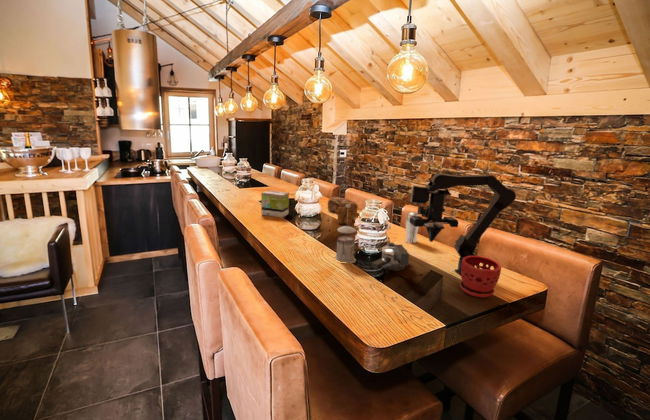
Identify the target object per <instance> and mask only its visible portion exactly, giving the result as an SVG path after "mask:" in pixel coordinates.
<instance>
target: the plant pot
mask: <svg viewBox="0 0 650 420" xmlns="http://www.w3.org/2000/svg"><path fill="white" fill-rule="evenodd" d="M471 262H472V264H470V263H471ZM480 264H482V265H480ZM473 266H475V267H473ZM491 267H492V268H493V269H491ZM501 271H502V265H501V264H500V263H499V262H498V261H497V260H494V259H492V258H489V257H485V256H481V255H475V256H466V257H464V258H463V259H462V264H461V275H460V277H461V282H459V287H460V289H461V290H462V291H463V292H464V293H466V294H467V295H470V296H472V297H475V298H476V297H477V298H489V297H491V296H493V295H494V294H495V289H494V288H495V287H496V286H497V283H498V282H499V280H500V275H501V273H502V272H501Z"/></svg>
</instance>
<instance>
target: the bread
mask: <svg viewBox="0 0 650 420" xmlns="http://www.w3.org/2000/svg"><path fill="white" fill-rule="evenodd" d="M349 202H353V203H355V204H357V203H356V201H353V200H351V199H350V198H345V197H344V198H343V197H339V196H338V197H337V196H333V197H330V198H328V200H327V211H328V212H331V213H335V214H337V209H338V208H339V207H345V208H346V210H347V209H348V208H347V207H346V205H348V204H349ZM355 212H356V213H358V210H355Z"/></svg>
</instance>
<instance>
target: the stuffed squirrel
mask: <svg viewBox="0 0 650 420" xmlns="http://www.w3.org/2000/svg"><path fill="white" fill-rule="evenodd" d="M355 203H356V202H355ZM355 203H353V202H349V204H348V205H350V208H348V209H347V210H346V208H345V207H339V208H338V209H337V213H336V215H337V222H338V223H339V224H341V225H344V224H345V225H346V226H350V227H355V226H354V223H355V220H357V219H356V218H359V217H360V213H359V212H357V213H356V212H355V210H357V211H358V210H359V209H358V207H359V206H358V204H357V203H356V204H355ZM347 211H348V220H347ZM358 216H359V217H358Z"/></svg>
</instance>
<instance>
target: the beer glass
mask: <svg viewBox="0 0 650 420" xmlns="http://www.w3.org/2000/svg"><path fill="white" fill-rule="evenodd" d="M412 216H420V217H421V214H418V212H415V211H408V212H406V217H405V231H406V232H405V235H406V236H405V237H404V238H405V239H404V241H405V242H406V243H408V244H416V243H417V242H418V239H417V238H418V237H417V236H418V231H419V227H416V226H414V225H412V224H411V223H410V218H411V217H412Z"/></svg>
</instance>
